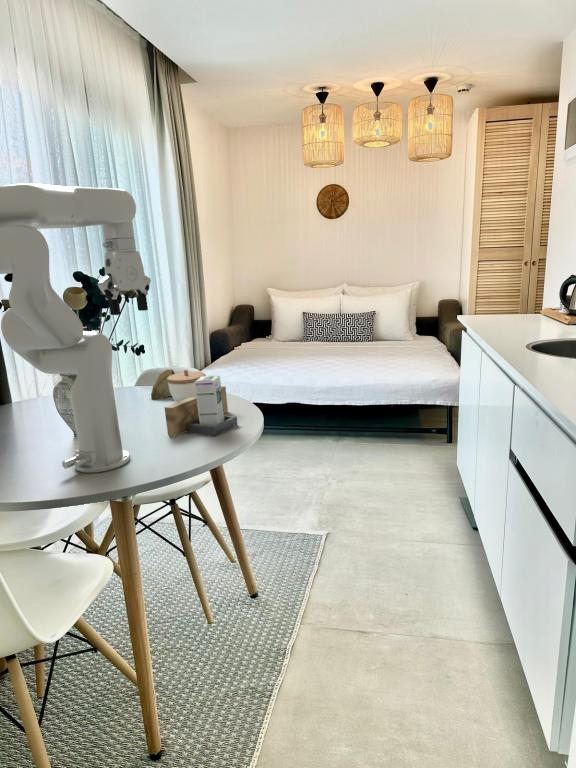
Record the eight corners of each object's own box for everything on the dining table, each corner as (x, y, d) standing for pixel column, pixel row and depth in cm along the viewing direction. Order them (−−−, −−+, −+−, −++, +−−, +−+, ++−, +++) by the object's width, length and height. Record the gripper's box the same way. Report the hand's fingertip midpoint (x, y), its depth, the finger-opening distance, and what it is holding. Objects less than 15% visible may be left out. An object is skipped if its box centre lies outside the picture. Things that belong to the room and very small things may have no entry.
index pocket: (215, 436, 139) (214, 427, 138) (186, 432, 144) (185, 423, 143) (237, 425, 147) (236, 416, 147) (209, 421, 152) (208, 413, 152)
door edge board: (175, 436, 141) (172, 408, 139) (168, 435, 142) (164, 407, 140) (228, 411, 161) (226, 386, 159) (221, 410, 162) (219, 385, 160)
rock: (144, 395, 179) (171, 390, 177) (145, 372, 183) (171, 367, 181) (158, 406, 189) (184, 401, 187) (158, 384, 192) (184, 380, 191)
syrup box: (220, 431, 142) (215, 380, 139) (199, 432, 143) (193, 380, 140) (225, 425, 148) (220, 375, 145) (205, 425, 149) (200, 375, 145)
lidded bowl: (200, 407, 168) (196, 374, 165) (163, 407, 170) (159, 374, 168) (213, 397, 180) (210, 365, 177) (179, 397, 182) (175, 366, 180)
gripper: (104, 246, 127) (114, 316, 131) (155, 245, 141) (162, 308, 145) (83, 248, 130) (94, 316, 134) (135, 246, 145) (143, 308, 149)
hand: (129, 312), depth 140 cm, fingers open, 9 cm apart
